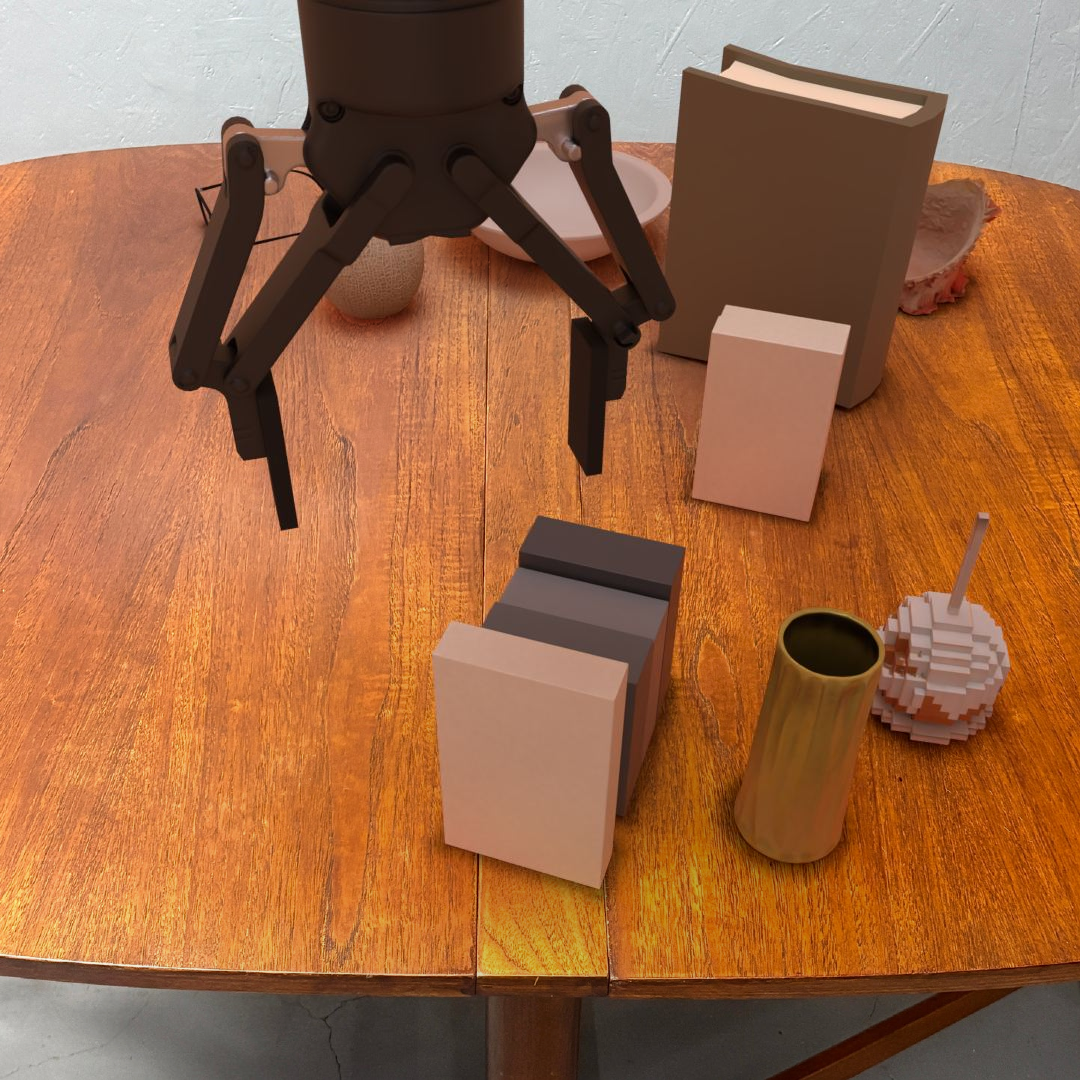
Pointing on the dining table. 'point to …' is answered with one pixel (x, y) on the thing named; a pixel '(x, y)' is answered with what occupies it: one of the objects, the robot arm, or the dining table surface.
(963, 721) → the pale rounded piece
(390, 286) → the fruit
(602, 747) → the white book
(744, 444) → the white books
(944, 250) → the seashell
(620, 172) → the soup bowl
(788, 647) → the vase
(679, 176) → the book
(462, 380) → the dining table surface
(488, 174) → the robot arm
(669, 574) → the grey books
